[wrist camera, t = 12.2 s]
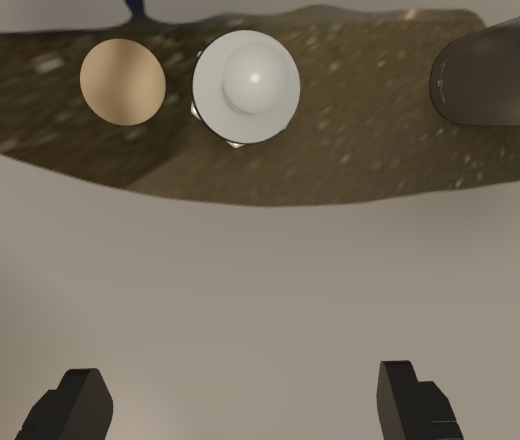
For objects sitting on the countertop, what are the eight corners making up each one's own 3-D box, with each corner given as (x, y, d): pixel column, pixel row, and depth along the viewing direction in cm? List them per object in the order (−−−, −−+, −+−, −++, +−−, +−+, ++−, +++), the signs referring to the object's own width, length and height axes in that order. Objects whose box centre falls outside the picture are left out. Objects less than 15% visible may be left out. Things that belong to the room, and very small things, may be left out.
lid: (294, 31, 29) (323, -5, 21) (299, 138, 31) (328, 143, 23) (188, 37, 28) (176, 3, 20) (199, 146, 30) (193, 154, 22)
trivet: (159, 37, 39) (159, 36, 38) (170, 122, 41) (170, 122, 40) (74, 42, 38) (72, 41, 38) (89, 128, 40) (88, 128, 39)
